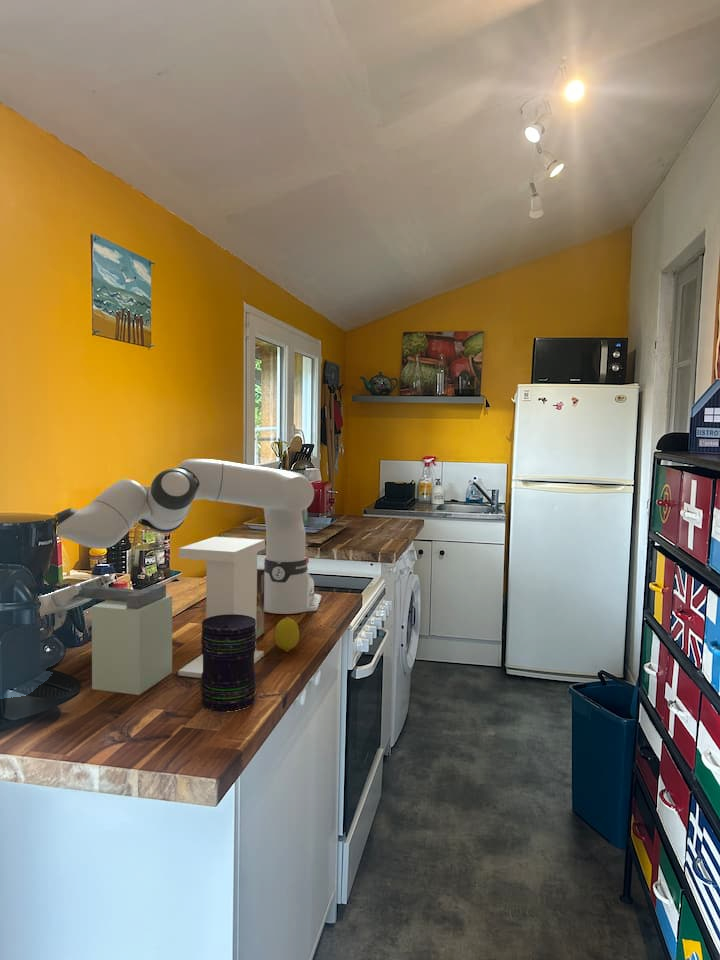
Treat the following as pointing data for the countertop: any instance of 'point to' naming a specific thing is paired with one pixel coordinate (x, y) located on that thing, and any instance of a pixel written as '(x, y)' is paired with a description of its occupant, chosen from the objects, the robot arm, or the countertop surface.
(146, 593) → the t key
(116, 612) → the block
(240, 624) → the storage jar
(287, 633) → the lemon
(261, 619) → the coffee box
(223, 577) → the shelf
